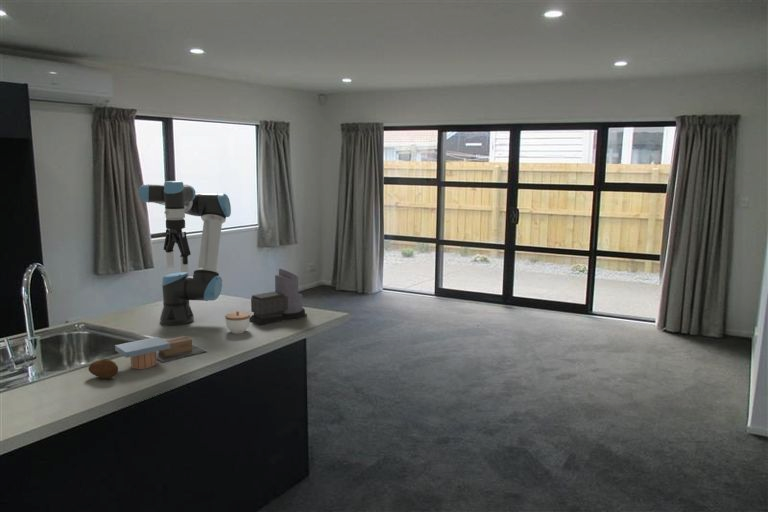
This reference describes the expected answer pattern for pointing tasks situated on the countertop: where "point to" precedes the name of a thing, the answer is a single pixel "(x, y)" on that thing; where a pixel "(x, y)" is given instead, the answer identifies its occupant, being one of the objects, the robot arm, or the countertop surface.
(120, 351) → the cover board
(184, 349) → the stand
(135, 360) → the bowl
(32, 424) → the countertop surface
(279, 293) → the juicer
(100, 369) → the potato
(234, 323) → the lidded jar
